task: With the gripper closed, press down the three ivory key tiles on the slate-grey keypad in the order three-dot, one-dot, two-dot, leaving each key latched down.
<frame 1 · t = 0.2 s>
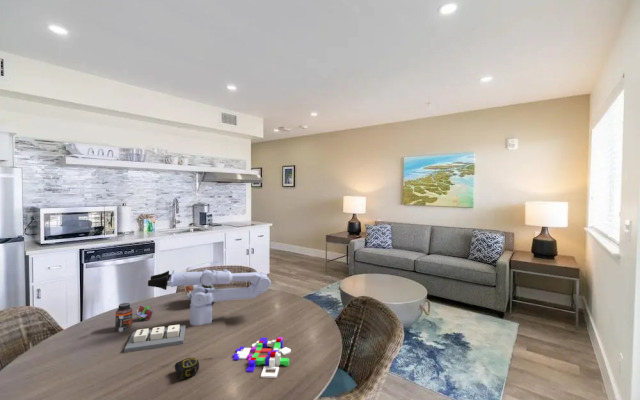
hand: (149, 280, 124), 21 cm above the table, tool horizontal, fingers open, 7 cm apart
tape measure: (185, 375, 95), on the table
supplement bottle: (123, 331, 124), on the table
building block set: (262, 358, 107), on the table
lucky cat figurine: (201, 303, 158), on the table
geometric puzzle: (144, 320, 135), on the table
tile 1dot: (173, 332, 117), point 3 cm above the table, slide at 0.0 cm
keypad board: (157, 342, 115), on the table
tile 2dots: (157, 334, 115), point 3 cm above the table, slide at 0.0 cm
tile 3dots: (141, 336, 113), point 3 cm above the table, slide at 0.0 cm
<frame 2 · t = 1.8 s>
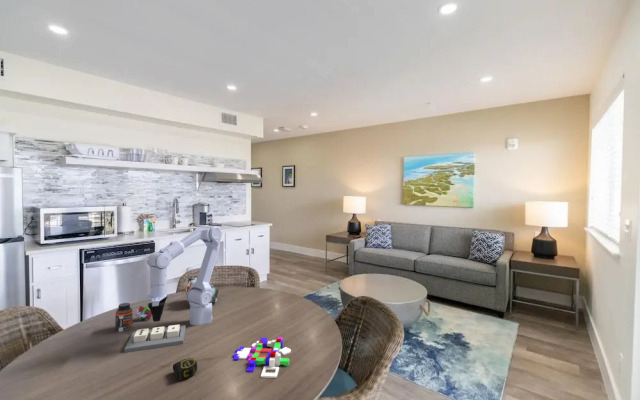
hand: (157, 318, 115), 9 cm above the table, tool pointing down, fingers open, 5 cm apart
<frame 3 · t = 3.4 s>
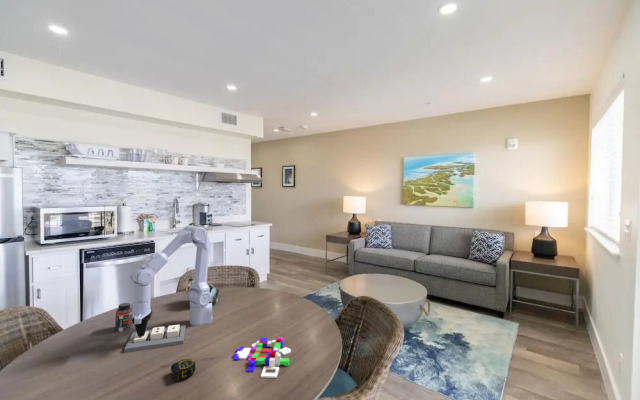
hand: (141, 335, 113), 4 cm above the table, tool pointing down, fingers closed, pressing on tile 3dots
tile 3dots: (141, 339, 113), point 2 cm above the table, slide at 1.2 cm, touching gripper
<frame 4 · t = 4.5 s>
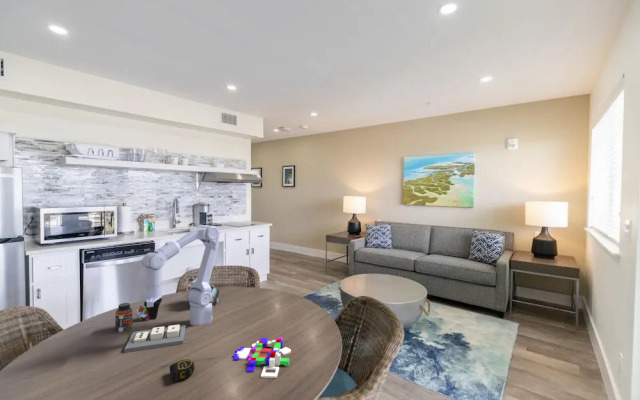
hand: (153, 319, 114), 9 cm above the table, tool pointing down, fingers closed
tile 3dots: (141, 339, 113), point 2 cm above the table, slide at 1.2 cm
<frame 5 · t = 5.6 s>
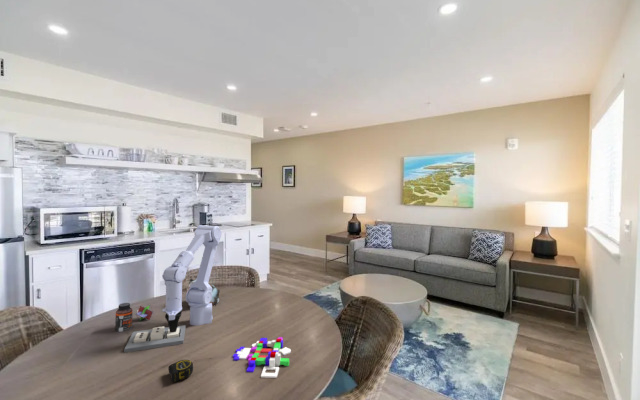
hand: (173, 331, 117), 4 cm above the table, tool pointing down, fingers closed, pressing on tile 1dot
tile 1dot: (173, 335, 117), point 2 cm above the table, slide at 1.2 cm, touching gripper
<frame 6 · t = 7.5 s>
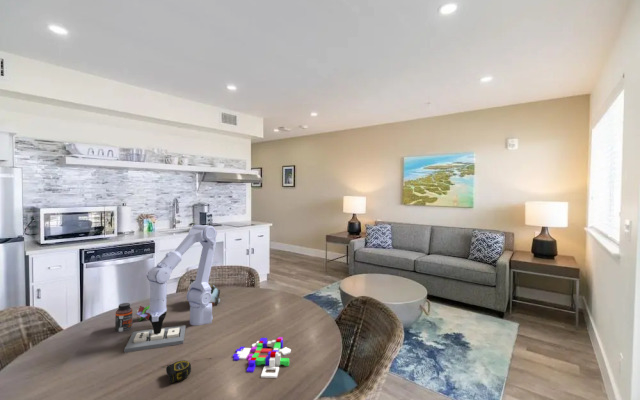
hand: (157, 332, 115), 4 cm above the table, tool pointing down, fingers closed, pressing on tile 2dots
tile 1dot: (173, 335, 117), point 2 cm above the table, slide at 1.2 cm
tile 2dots: (157, 337, 115), point 2 cm above the table, slide at 1.0 cm, touching gripper
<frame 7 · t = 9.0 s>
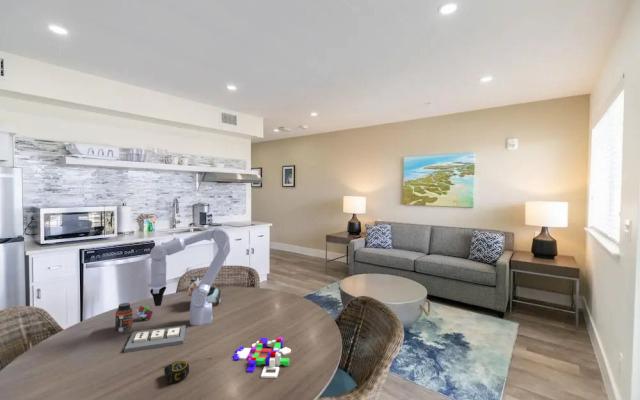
hand: (158, 305, 125), 10 cm above the table, tool pointing down, fingers closed
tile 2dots: (157, 337, 115), point 2 cm above the table, slide at 1.2 cm
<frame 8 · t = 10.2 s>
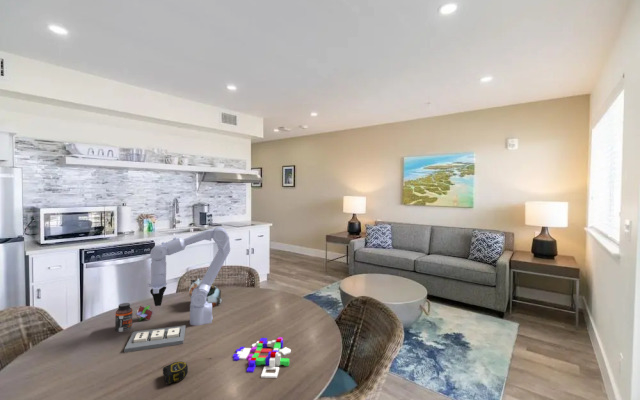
hand: (158, 305, 125), 10 cm above the table, tool pointing down, fingers closed
at the end: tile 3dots slide at 1.2 cm; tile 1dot slide at 1.2 cm; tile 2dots slide at 1.2 cm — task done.
